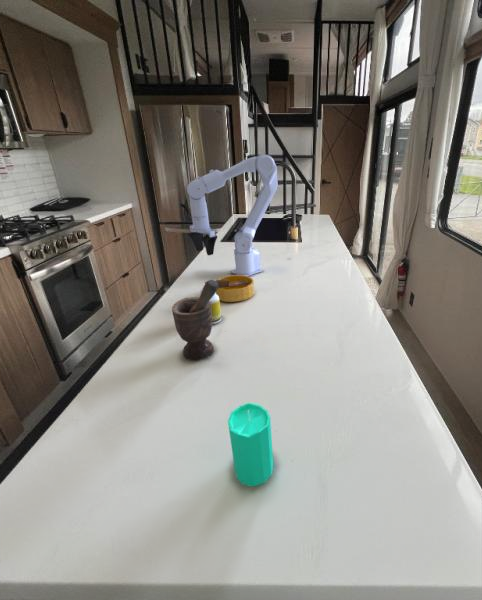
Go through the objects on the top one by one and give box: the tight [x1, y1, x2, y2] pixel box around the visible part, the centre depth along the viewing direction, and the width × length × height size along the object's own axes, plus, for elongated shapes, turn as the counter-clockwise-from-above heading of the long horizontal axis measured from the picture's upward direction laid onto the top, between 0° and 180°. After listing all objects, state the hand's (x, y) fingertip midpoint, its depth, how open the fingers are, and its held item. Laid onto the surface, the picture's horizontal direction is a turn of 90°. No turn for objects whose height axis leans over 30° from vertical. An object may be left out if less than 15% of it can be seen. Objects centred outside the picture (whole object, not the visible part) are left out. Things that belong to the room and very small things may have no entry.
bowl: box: [216, 274, 255, 303], centre depth 108 cm, size 13×13×4 cm
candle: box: [227, 402, 274, 487], centre depth 48 cm, size 6×6×12 cm
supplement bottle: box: [200, 287, 223, 325], centre depth 92 cm, size 5×5×10 cm
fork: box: [204, 279, 249, 289], centre depth 106 cm, size 16×2×2 cm, turn 134°
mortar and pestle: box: [171, 279, 218, 362], centre depth 75 cm, size 12×9×20 cm
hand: (205, 252), depth 122 cm, fingers open, 7 cm apart
